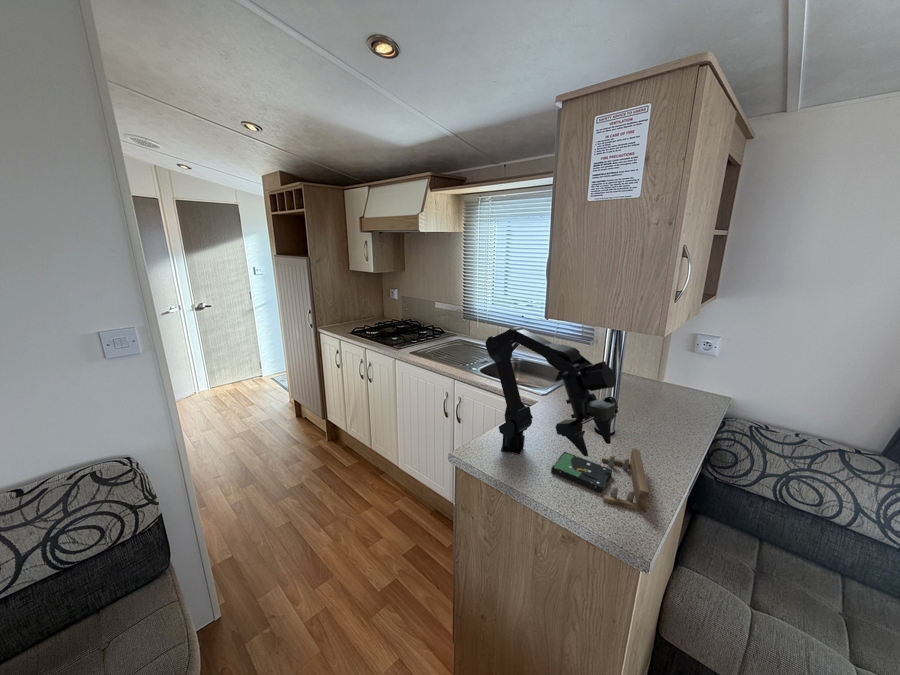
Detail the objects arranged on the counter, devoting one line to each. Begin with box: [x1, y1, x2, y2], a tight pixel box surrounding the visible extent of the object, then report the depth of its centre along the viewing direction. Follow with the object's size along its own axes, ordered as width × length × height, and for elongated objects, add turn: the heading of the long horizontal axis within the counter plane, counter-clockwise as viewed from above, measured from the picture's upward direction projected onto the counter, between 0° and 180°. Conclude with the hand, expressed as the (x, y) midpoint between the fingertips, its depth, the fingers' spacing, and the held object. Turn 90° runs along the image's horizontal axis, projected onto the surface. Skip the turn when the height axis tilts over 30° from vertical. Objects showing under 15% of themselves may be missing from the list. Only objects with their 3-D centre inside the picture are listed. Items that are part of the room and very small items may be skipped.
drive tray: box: [601, 448, 650, 513], centre depth 100 cm, size 10×20×6 cm, turn 159°
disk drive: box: [550, 451, 613, 494], centre depth 105 cm, size 10×3×15 cm
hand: (597, 449), depth 93 cm, fingers open, 9 cm apart
